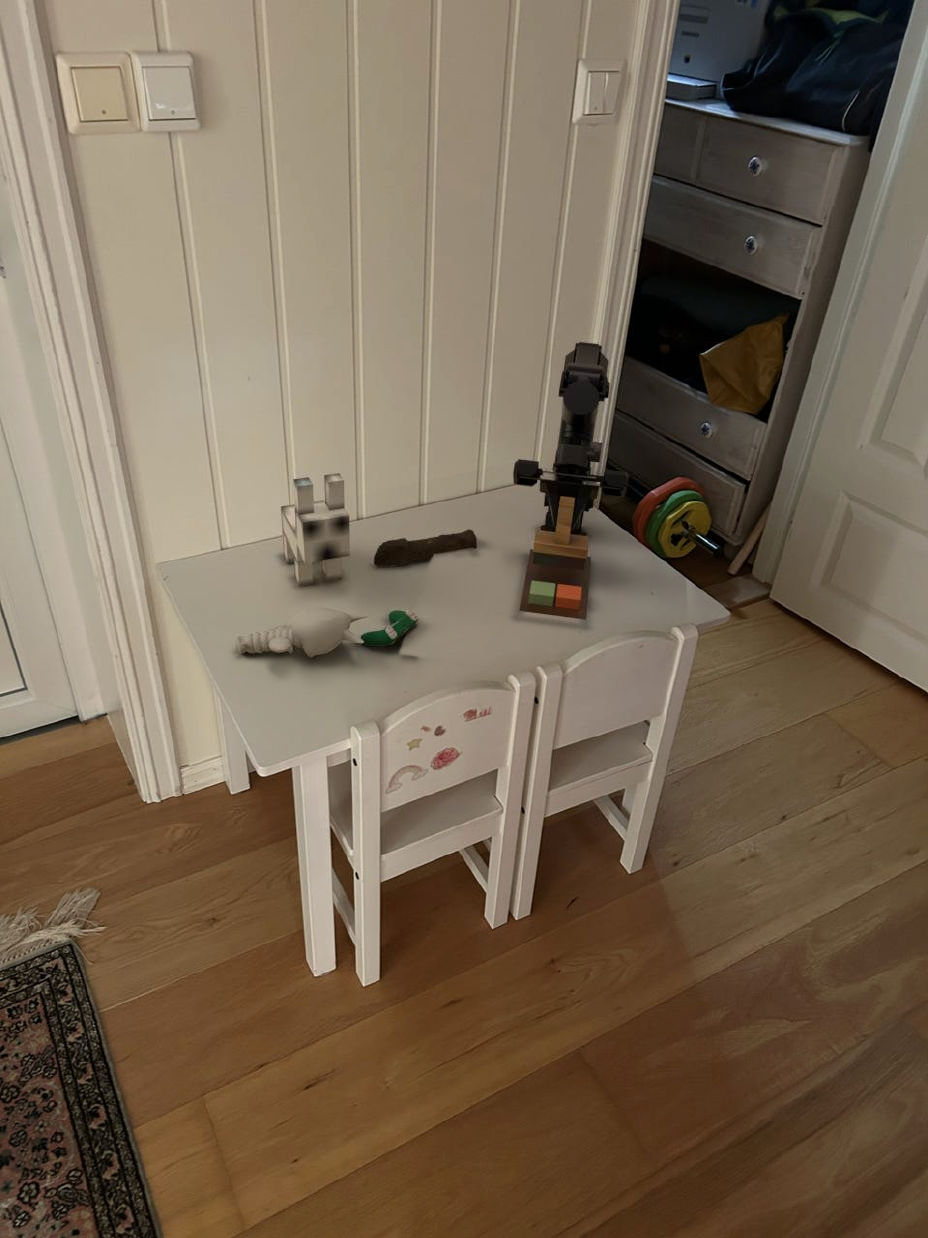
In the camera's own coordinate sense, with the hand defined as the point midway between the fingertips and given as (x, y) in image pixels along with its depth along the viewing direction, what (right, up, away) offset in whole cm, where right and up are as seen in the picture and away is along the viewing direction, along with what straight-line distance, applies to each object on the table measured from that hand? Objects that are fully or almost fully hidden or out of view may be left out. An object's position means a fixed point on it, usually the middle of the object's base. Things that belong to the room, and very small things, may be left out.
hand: (563, 528), depth 153 cm
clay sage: (-3, -11, +2) cm, 12 cm away
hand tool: (-23, -5, +13) cm, 27 cm away
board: (-1, -10, +8) cm, 12 cm away
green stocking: (-28, -18, -6) cm, 34 cm away
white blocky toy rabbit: (-42, -7, +8) cm, 44 cm away
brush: (0, -5, +5) cm, 7 cm away
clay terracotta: (+1, -12, +2) cm, 12 cm away
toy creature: (-40, -20, -10) cm, 46 cm away
